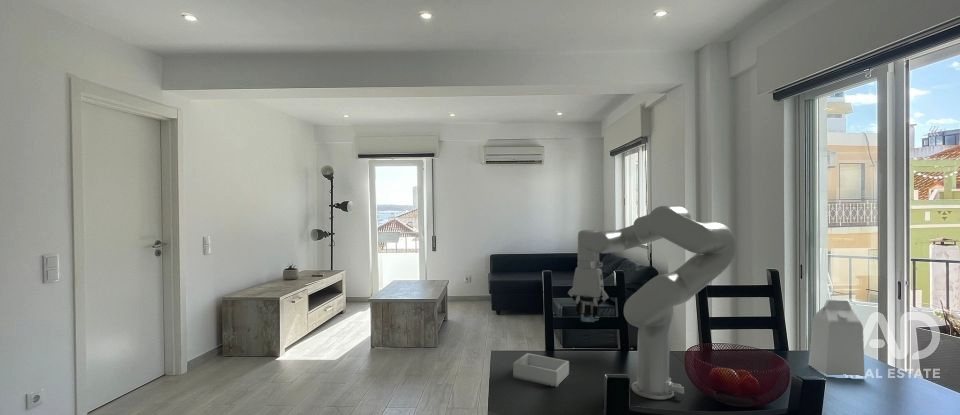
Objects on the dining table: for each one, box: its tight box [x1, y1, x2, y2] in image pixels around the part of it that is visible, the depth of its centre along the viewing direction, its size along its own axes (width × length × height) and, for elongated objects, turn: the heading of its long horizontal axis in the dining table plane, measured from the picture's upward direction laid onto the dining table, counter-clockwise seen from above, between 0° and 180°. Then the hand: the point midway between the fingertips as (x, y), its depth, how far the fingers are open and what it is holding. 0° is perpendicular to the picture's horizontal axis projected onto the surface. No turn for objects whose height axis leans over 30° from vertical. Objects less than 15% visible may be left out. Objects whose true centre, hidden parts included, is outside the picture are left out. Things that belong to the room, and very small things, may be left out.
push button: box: [580, 296, 600, 323], centre depth 166 cm, size 7×5×10 cm
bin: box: [512, 352, 570, 388], centre depth 159 cm, size 16×12×5 cm
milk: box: [808, 298, 866, 376], centre depth 165 cm, size 12×12×26 cm
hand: (587, 314), depth 167 cm, fingers closed on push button, 5 cm apart
